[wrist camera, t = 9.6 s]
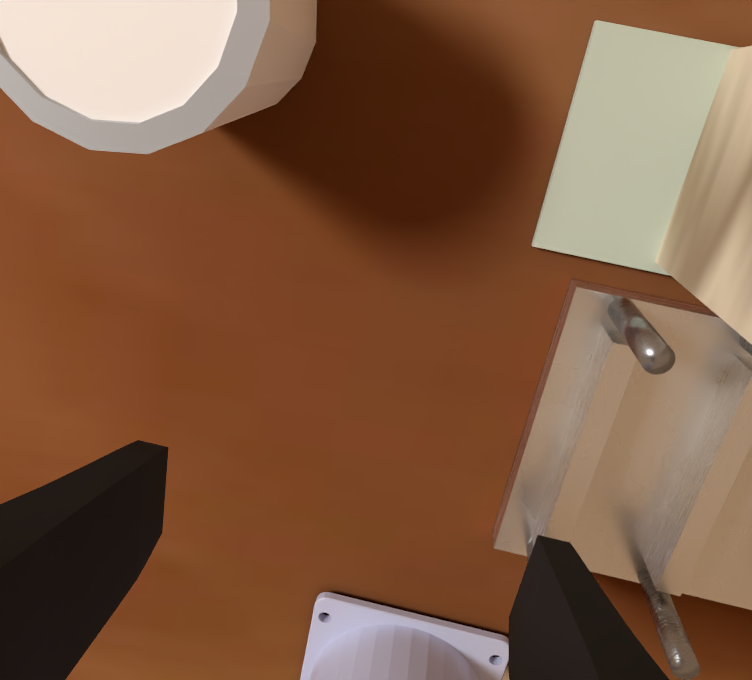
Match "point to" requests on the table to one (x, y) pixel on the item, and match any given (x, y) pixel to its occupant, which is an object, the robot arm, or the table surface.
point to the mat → (628, 143)
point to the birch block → (718, 205)
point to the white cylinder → (150, 65)
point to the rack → (641, 453)
